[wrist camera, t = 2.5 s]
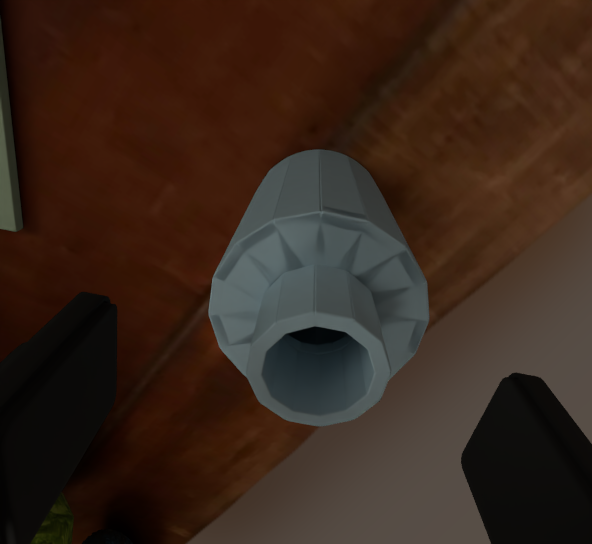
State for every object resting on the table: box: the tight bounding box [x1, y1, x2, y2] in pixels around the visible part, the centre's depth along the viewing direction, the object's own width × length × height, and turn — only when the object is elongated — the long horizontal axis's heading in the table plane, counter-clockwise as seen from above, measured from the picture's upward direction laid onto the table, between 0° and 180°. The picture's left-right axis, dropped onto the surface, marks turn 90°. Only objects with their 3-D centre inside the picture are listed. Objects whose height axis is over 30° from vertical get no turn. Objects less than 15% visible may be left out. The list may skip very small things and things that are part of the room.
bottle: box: [209, 150, 429, 426], centre depth 15 cm, size 6×6×12 cm
